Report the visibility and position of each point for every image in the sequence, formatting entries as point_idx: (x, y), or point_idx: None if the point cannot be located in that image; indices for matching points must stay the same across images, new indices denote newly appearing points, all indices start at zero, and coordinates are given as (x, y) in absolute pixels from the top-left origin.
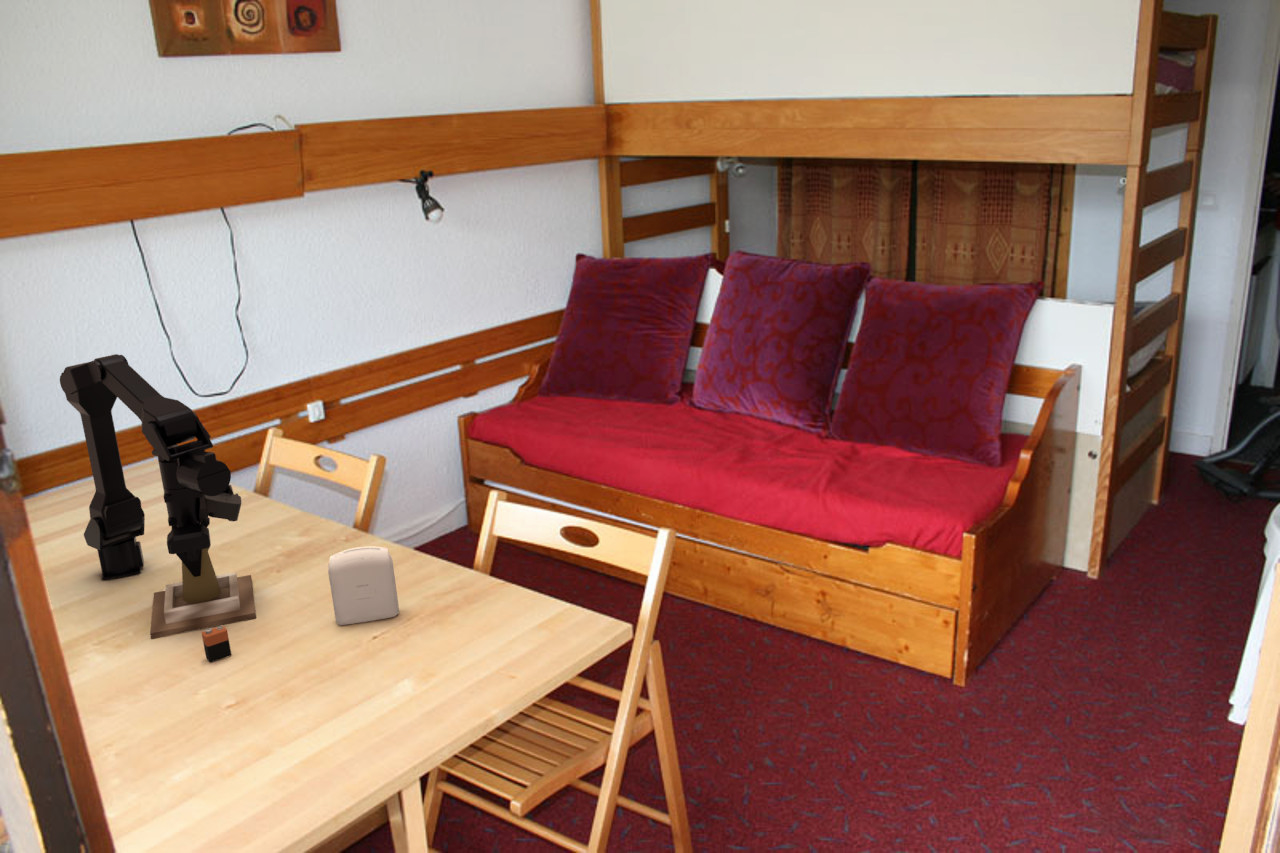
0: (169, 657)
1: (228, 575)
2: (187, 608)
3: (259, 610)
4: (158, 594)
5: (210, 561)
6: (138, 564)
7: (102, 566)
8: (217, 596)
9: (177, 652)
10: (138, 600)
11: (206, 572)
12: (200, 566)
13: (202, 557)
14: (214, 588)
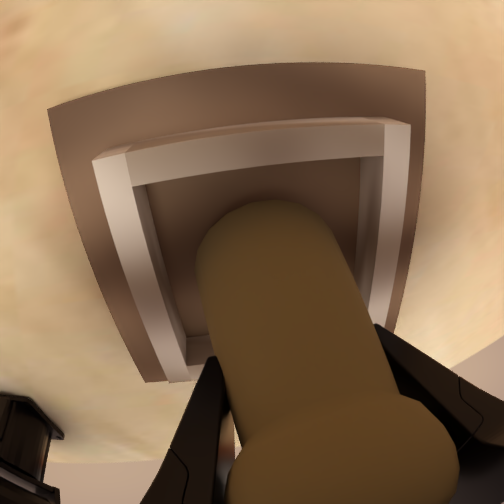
0: (476, 272)
1: (125, 190)
2: (390, 293)
3: (361, 51)
4: (159, 373)
5: (328, 324)
6: (13, 408)
7: (48, 450)
8: (229, 209)
9: (470, 261)
10: (154, 393)
11: (364, 305)
12: (421, 353)
13: (393, 384)
14: (323, 231)
